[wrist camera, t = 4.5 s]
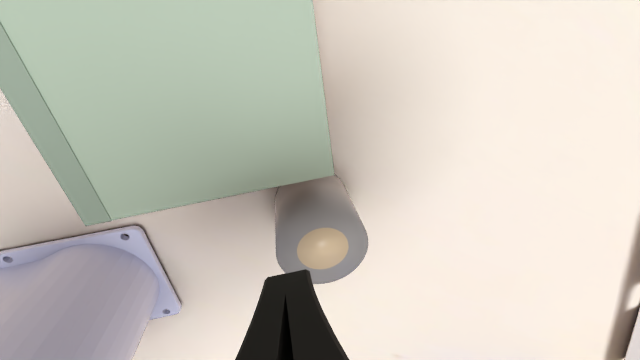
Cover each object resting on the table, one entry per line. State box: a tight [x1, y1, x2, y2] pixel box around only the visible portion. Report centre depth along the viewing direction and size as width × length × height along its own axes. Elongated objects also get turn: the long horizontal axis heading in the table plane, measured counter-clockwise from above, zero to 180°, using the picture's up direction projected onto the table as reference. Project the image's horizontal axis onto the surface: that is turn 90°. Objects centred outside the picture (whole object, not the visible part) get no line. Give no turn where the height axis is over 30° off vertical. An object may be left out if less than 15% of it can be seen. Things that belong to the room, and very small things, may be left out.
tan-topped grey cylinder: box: [275, 175, 368, 284], centre depth 18 cm, size 5×5×5 cm
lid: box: [0, 0, 334, 226], centre depth 10 cm, size 10×13×1 cm
